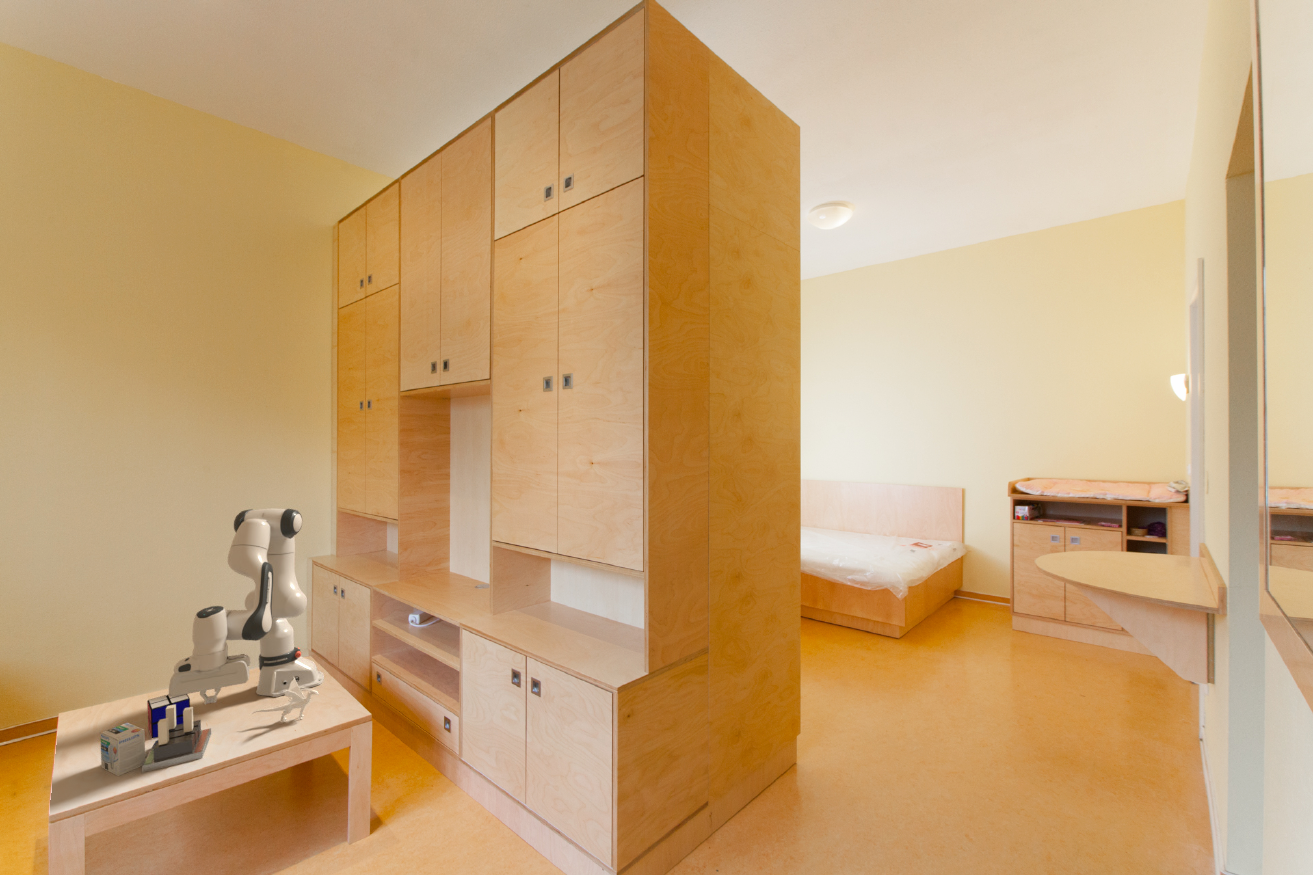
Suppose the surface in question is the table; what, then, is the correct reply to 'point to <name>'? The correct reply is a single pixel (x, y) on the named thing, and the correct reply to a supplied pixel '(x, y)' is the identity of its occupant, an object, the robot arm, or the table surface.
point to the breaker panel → (178, 747)
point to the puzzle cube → (159, 710)
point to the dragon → (293, 700)
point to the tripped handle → (188, 719)
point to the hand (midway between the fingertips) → (210, 702)
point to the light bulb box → (122, 748)
